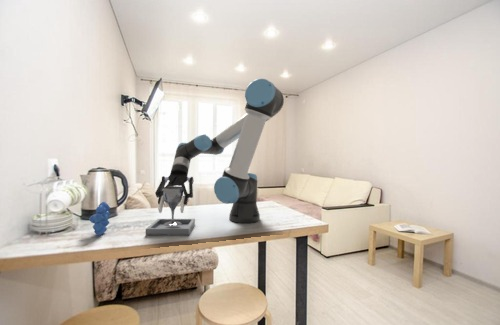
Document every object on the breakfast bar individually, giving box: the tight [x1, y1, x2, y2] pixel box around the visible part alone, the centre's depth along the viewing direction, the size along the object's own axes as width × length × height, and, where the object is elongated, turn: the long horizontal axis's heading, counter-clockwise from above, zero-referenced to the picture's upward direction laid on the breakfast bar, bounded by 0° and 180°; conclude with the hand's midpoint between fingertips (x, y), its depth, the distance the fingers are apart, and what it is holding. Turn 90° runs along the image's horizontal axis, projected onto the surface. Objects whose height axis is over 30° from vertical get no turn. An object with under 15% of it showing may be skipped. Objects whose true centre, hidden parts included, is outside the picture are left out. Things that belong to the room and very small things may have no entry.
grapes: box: [88, 201, 111, 237], centre depth 86 cm, size 12×7×12 cm, turn 16°
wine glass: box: [163, 185, 184, 226], centre depth 94 cm, size 8×8×15 cm
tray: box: [145, 218, 196, 237], centre depth 94 cm, size 16×15×3 cm
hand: (170, 210), depth 90 cm, fingers closed on wine glass, 8 cm apart
